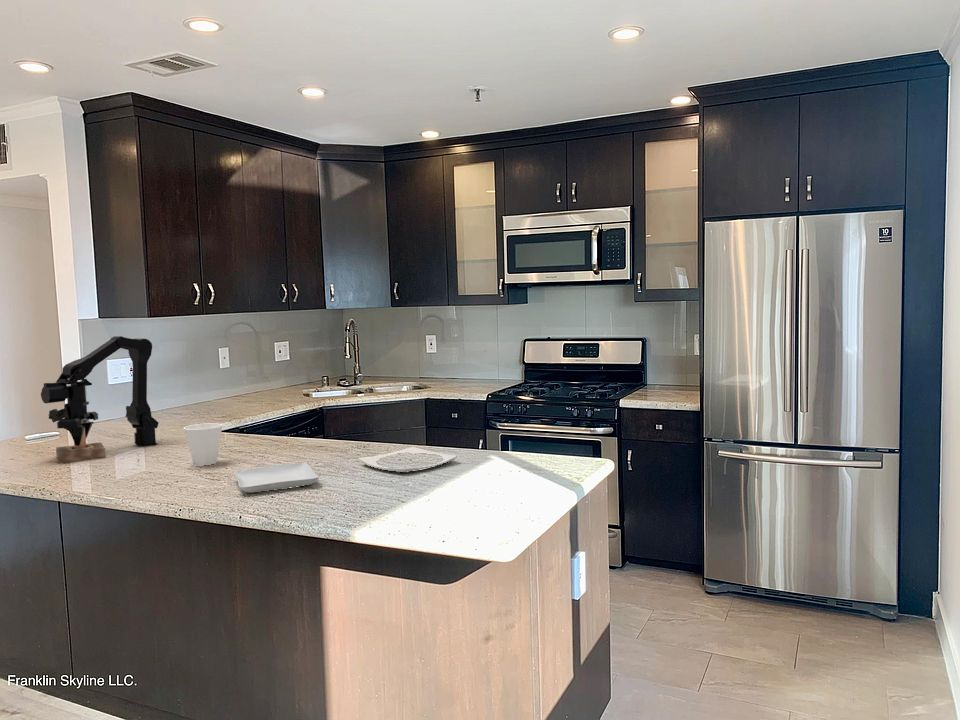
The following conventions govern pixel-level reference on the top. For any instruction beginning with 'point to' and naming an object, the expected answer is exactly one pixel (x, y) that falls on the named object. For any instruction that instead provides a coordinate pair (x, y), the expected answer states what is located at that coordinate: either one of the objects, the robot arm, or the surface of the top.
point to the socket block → (80, 453)
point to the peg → (82, 443)
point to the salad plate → (275, 477)
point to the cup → (203, 442)
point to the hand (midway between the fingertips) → (80, 444)
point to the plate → (372, 460)
